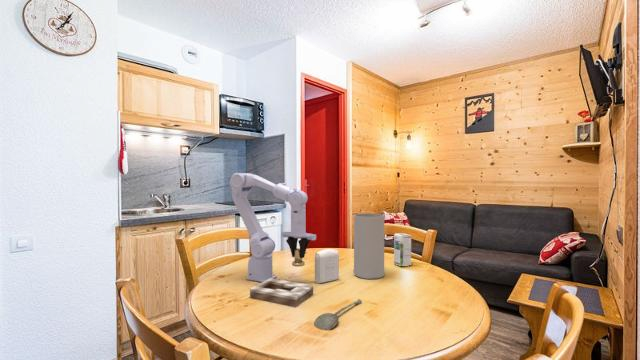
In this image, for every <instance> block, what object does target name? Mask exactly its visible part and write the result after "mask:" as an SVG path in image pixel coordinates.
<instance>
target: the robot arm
mask: <svg viewBox="0 0 640 360" xmlns="http://www.w3.org/2000/svg"><path fill="white" fill-rule="evenodd" d="M228 185H230V189H231V198H232V201H233V203H234V205H235V207H236V209H237V212H238V213H239V215H240V217H241V219H242V222H243V224H244V226H245V228H246V230H247V232H248V235H249V236H250V239H249V246H250V253H251V254H252V255H251V256H250V257H249V258H248V262H247V277H246V280H250V281H253V282H254V281H255V282H260V283H262V282H264V281H266V280H268V279H270V278H272V279H276V278H277V277H278V275H276V274H273V272H274V271H273V269H274V268H273V267H274V266H273V252H274V251H275V249H276V243H275V241H274V239H272V238H271V237H270V236H269V233H267V232H265V231H264V230H263V228H262V225H261V223H260V221H259V219H258V217H257V216H256V214H255V212H254V209H253V207H252V205H251V203H250V201H249V198H248V195H249V193H250V191H251V190H252V189H253V187H256V186H257V187H259V188H262V189H264V190H266V191H268V192H272V193H273V196H274V197H275V198H277V199H279V200H282V201H285V202H286V203H289V205H290V231H282V232H281V233H280V238H287V239H286V240H285V241H286V243H287V245H288V246H289V250H290V252H291V253H290V254H291V257H292V258H294V249H297V248H298V247H299V248H300V258H302V259H304V258H305V255H306V252H307V251H306V250H307V249H308V246H309V243H310V242H311V241H316V240H317V234H313V233H308V232H306V231H307V230H306V229H307V228H306V227H307V226H306V225H307V224H306V223H307V220H306V219H307V218H306V217H307V216H306V215H307V214H306V213H307V212H306V207H307V206H306V205H307V204H306V203H307V202H308V199H309V197H308V194H307V193H306V192H304V191H303V190H301V189H300V190H297V188H296V187H291V186H289V185H287V183H285V182H279V183H278V184H277V183H276V184H275V183H274V182H271V181H270V180H268V179H265V178H264V177H261V176H259V175H257V174H253V173H251V172H247V173H245V172H244V173H243V172H235V173H233V174H232V175H231V177H230V180H229V184H228ZM298 244H299V246H298ZM297 246H298V247H297Z"/></svg>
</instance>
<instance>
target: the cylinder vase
mask: <svg viewBox="0 0 640 360" xmlns="http://www.w3.org/2000/svg"><path fill="white" fill-rule="evenodd" d="M353 274H354V276H355V277H358V278H360V279H366V280H377V279H378V280H379V279H380V278H382V277H384V276H385V215H384V214H381V213H364V212H362V213H355V214H354V216H353Z"/></svg>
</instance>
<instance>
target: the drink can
mask: <svg viewBox="0 0 640 360" xmlns="http://www.w3.org/2000/svg"><path fill="white" fill-rule="evenodd" d="M393 235H394V236H393V247H394V248H393V265H394V264H397V265H399V266H405V265H411V266H412V234H407V233H404V232H396V233H394V234H393ZM397 265H396V266H397ZM399 266H398V267H399Z"/></svg>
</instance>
